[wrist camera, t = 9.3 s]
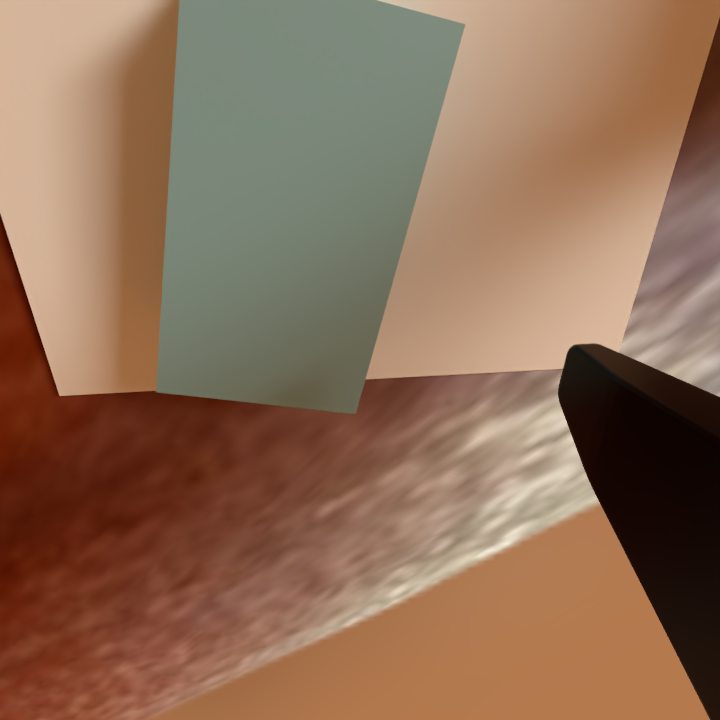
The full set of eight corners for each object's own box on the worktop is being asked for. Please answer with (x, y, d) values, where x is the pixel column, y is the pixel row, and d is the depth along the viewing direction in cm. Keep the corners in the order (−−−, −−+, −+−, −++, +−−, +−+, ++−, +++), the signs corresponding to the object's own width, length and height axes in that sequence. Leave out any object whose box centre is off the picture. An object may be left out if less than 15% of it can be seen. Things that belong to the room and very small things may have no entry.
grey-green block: (342, 342, 20) (355, 414, 17) (177, 319, 19) (155, 392, 16) (424, 13, 15) (465, 24, 12) (205, -46, 14) (182, -52, 11)
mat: (743, -102, 15) (756, -105, 15) (608, 358, 23) (614, 365, 22) (-101, -133, 13) (-114, -137, 12) (63, 387, 21) (59, 395, 20)
